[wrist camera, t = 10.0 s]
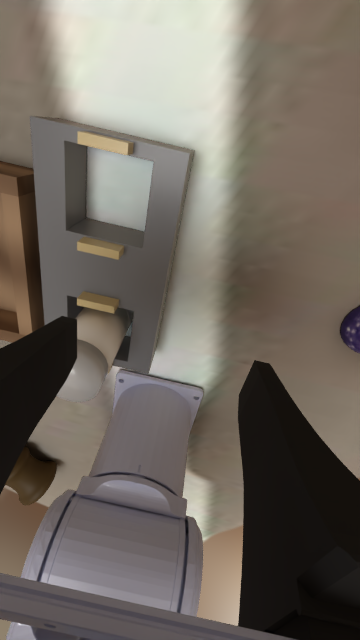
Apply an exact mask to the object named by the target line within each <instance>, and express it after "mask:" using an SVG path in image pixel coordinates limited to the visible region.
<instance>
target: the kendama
mask: <svg viewBox="0 0 360 640" xmlns="http://www.w3.org/2000/svg"><path fill="white" fill-rule="evenodd" d="M56 466H57V464H56V463H55V462H53V461H46V462H43V461H40V460H37V459H35V458H34V457H32V456H31V455H30V452H29V449H28V448H27V447H24V448H23V450H22V452H21V454H20V456H19V458H18V460H17V462H16V464H15V466H14V468H13V470H12V472H11V474H10V476H9V478H8V480H7V482H6V484H5V485H8V486H9V487H11V488H13V489H14V490H15V491H16V492H17V493H18V495H19V500H20V502H21V503H22V504H23V505H30V504H32V503H34V502H36V501H38V500H39V499H40V498H41V497H42V496H43V495H44V494H45V492H46V491H47V490H48V488H49V487H50V485H51V483H52V482H53V480H54V477H55V474H56Z"/></svg>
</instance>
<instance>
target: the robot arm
mask: <svg viewBox="0 0 360 640" xmlns="http://www.w3.org/2000/svg"><path fill="white" fill-rule="evenodd" d="M76 359H77V319H74V318H69V317H65V316H61V317H59V318H57V319H55V320H53V321H52V322H50V323H48V324H46V325H44V326H43V327H41V328H39V329H37V330H35V331H34V332H32V333H30V334H28V335H26V336H24V337H23V338H21V339H19V340H17V341H15V342H13V343H11V344H9V345H7V346H5V347H3V348H1V349H0V494H1V492H2V490H3V488H4V486H5V484H6V482H7V480H8V478H9V476H10V474H11V472H12V470H13V468H14V466H15V464H16V462H17V460H18V458H19V456H20V454H21V452H22V450H23V448H24V447H25V445H26V443H27V441H28V439H29V437H30V435H31V434H32V432H33V430H34V429H35V427H36V426H37V424H38V422H39V421H40V419H41V418H42V416H43V415H44V413H45V412H46V410H47V409H48V407H49V406H50V404H51V403H52V401H53V400H54V398H55V397H56V395H57V394H58V392H59V391H60V389H61V388H62V386H63V385H64V383H65V381H66V380H67V378H68V376H69V374H70V372H71V370H72V368H73V366H74V364H75V362H76ZM121 379H123V380H121ZM195 396H198V397H195ZM202 397H203V390H202V389H201V388H198V387H193V386H189V385H185V384H180V383H176V382H172V381H167V380H163V379H159V378H154V377H150V376H146V375H141V374H137V373H133V372H128V371H124V370H120V371H118V373H117V375H116V384H115V394H114V403H113V412H112V417H111V420H110V422H109V425H108V427H107V430H106V433H105V435H104V438H103V440H102V443H101V446H100V448H99V451H98V453H97V456H96V458H95V461H94V464H93V466H92V469H91V471H90V474H89V477H88V476H83V477H82V479H81V482H80V484H79V487H78V489H77V491H75V490H67V491H65V492H64V493H63V494H62V495H61V496H59V497H58V498H56V499H55V500H54V502H53V503H52V504H51V506H50V507H49V509H48V511H47V512H46V514H45V516H44V518H43V520H42V522H41V524H40V526H39V528H38V531H37V533H36V535H35V537H34V540H33V542H32V545H31V547H30V550H29V553H28V556H27V558H26V562H25V564H24V568H23V571H22V575H21V577H16V576H12V575H7V574H3V573H0V619H2V620H7V621H11V624H10V627H9V630H8V633H7V636H6V640H360V481H359V480H358V479H357V478H356V477H355V475H354V474H353V473H352V472H351V471H350V470H349V469H348V468H347V467H346V466H345V465H344V464H343V463H342V462H341V461H340V460H339V459H338V458H337V457H336V455H335V454H334V453H333V452H332V451H331V450H330V448H329V447H328V446H327V445H326V444H325V443H324V441H323V440H322V439H321V438H320V437H319V435H318V434H317V433H316V432H315V430H314V429H313V428H312V426H311V425H310V424H309V422H308V421H307V420H306V418H305V417H304V416H303V414H302V413H301V411H300V410H299V408H298V407H297V406H296V404H295V403H294V401H293V400H292V398H291V397H290V395H289V394H288V392H287V390H286V389H285V387H284V386H283V384H282V383H281V381H280V379H279V378H278V376H277V374H276V373H275V371H274V370H273V368H272V367H271V365H270V364H269V363H264V362H260V361H256V360H255V361H254V363H253V365H252V367H251V369H250V372H249V374H248V376H247V378H246V381H245V383H244V385H243V387H242V389H241V392H240V394H239V405H238V423H239V435H240V445H241V456H242V466H243V480H244V521H243V558H242V578H241V594H240V611H239V623H238V626H234V625H230V624H226V623H221V622H216V621H212V620H208V619H203V618H199V617H196V616H197V611H198V604H199V598H200V591H201V581H202V567H203V541H202V534H201V531H200V529H199V527H198V525H197V523H196V520H195V519H194V518H193V517H189V516H186V507H187V500H186V499H184V498H182V496H183V487H184V478H185V468H186V459H187V449H188V440H189V434H190V431H191V428H192V426H193V423H194V420H195V417H196V414H197V411H198V408H199V405H200V403H201V400H202Z"/></svg>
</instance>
